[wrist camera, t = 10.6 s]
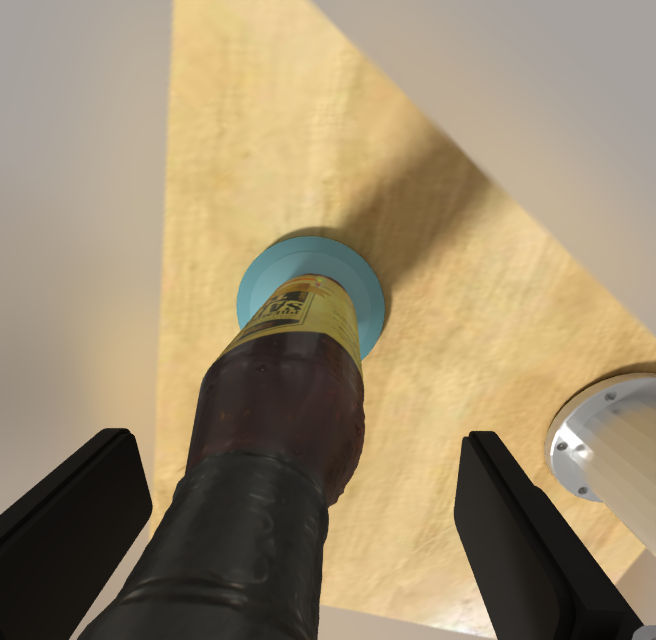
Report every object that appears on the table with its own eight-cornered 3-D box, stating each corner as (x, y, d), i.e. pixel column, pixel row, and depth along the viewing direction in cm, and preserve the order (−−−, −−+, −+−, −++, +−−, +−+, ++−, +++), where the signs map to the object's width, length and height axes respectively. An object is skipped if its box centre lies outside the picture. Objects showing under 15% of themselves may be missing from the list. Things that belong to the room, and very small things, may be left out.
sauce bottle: (307, 251, 21) (44, 539, 2) (373, 309, 22) (574, 825, 3) (251, 318, 23) (-175, 811, 4) (314, 369, 24) (228, 936, 5)
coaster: (385, 233, 21) (387, 233, 21) (381, 372, 25) (383, 378, 24) (231, 238, 22) (226, 239, 21) (248, 375, 25) (245, 380, 24)
